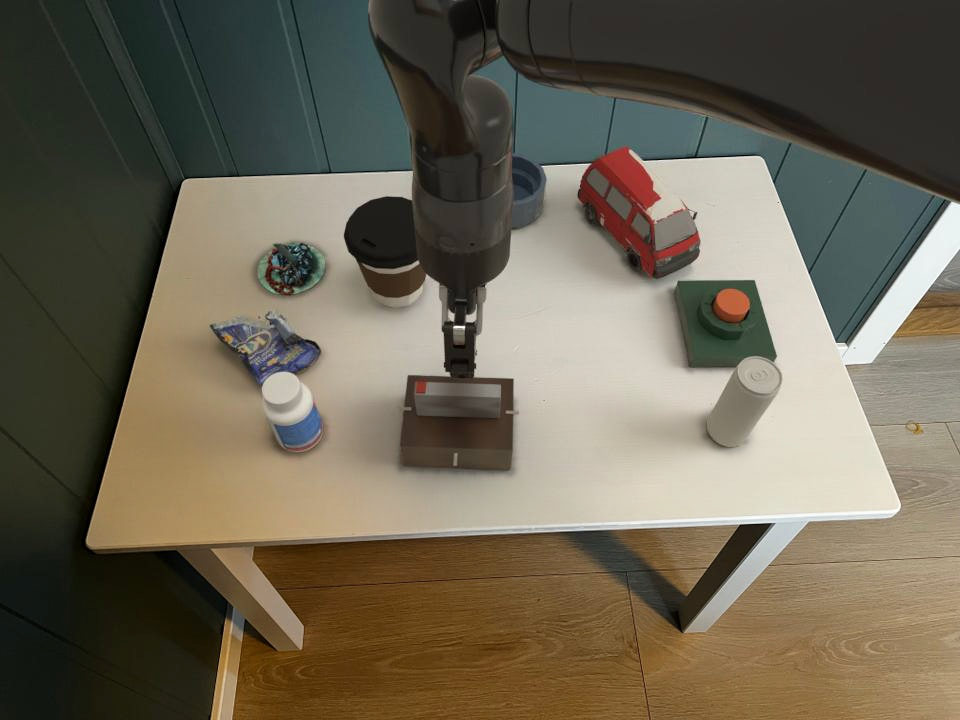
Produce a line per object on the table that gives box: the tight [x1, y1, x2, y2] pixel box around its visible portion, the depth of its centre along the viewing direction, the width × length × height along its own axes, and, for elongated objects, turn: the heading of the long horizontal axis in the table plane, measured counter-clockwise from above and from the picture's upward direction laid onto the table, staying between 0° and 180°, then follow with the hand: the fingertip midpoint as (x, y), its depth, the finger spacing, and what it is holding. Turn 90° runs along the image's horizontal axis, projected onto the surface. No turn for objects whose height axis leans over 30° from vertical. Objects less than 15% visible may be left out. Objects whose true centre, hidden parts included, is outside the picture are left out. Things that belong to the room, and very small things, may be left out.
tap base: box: [397, 374, 520, 471], centre depth 82 cm, size 13×13×5 cm
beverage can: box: [706, 356, 784, 448], centre depth 79 cm, size 5×5×12 cm
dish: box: [257, 241, 326, 296], centre depth 97 cm, size 8×7×8 cm
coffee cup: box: [343, 195, 427, 309], centre depth 91 cm, size 11×11×12 cm
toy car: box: [576, 145, 701, 280], centre depth 97 cm, size 9×18×10 cm, turn 26°
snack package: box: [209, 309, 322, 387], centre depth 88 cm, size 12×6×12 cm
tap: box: [414, 382, 501, 418], centre depth 78 cm, size 9×2×5 cm, turn 88°
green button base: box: [674, 279, 778, 368], centre depth 91 cm, size 12×10×4 cm
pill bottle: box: [261, 372, 324, 453], centre depth 80 cm, size 6×5×10 cm
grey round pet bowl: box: [511, 152, 548, 229], centre depth 103 cm, size 10×10×5 cm
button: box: [713, 289, 750, 323], centre depth 89 cm, size 4×4×2 cm
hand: (464, 337), depth 69 cm, fingers open, 8 cm apart
